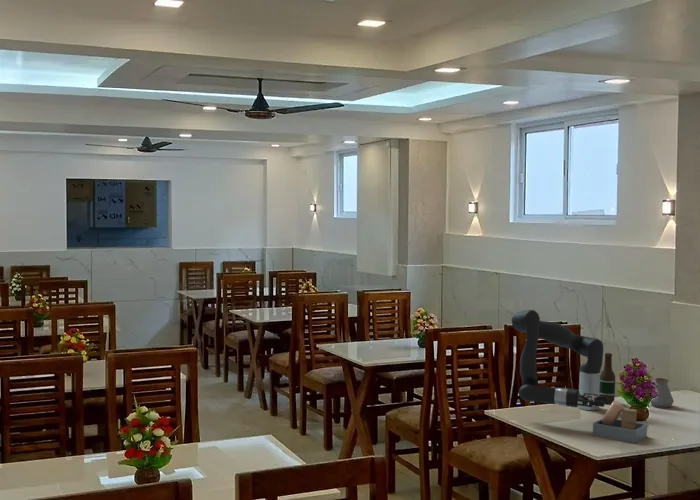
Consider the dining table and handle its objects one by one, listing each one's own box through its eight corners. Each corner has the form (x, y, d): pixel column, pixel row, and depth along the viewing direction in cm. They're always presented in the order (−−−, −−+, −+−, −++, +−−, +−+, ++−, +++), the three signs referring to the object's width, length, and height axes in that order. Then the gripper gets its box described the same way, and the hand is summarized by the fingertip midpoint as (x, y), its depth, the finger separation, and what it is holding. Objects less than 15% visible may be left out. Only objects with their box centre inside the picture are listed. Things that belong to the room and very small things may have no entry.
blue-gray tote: (604, 428, 349) (605, 417, 348) (646, 436, 338) (647, 424, 338) (592, 435, 338) (593, 423, 337) (635, 443, 327) (636, 431, 327)
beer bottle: (617, 402, 398) (619, 353, 397) (610, 405, 393) (612, 355, 391) (602, 399, 403) (604, 351, 402) (595, 402, 398) (597, 353, 397)
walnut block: (622, 432, 339) (624, 408, 339) (635, 433, 337) (636, 409, 336) (620, 434, 335) (622, 410, 334) (633, 436, 332) (634, 412, 332)
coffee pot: (660, 402, 401) (661, 371, 401) (678, 407, 391) (680, 376, 390) (627, 405, 392) (628, 374, 391) (645, 411, 382) (646, 379, 381)
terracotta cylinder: (604, 419, 345) (616, 400, 342) (613, 426, 342) (626, 407, 339) (598, 420, 341) (610, 401, 338) (608, 428, 338) (620, 409, 335)
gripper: (563, 391, 343) (603, 396, 336) (570, 385, 356) (609, 389, 348) (562, 409, 343) (602, 414, 336) (570, 402, 356) (608, 407, 349)
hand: (606, 402), depth 342 cm, fingers open, 8 cm apart
